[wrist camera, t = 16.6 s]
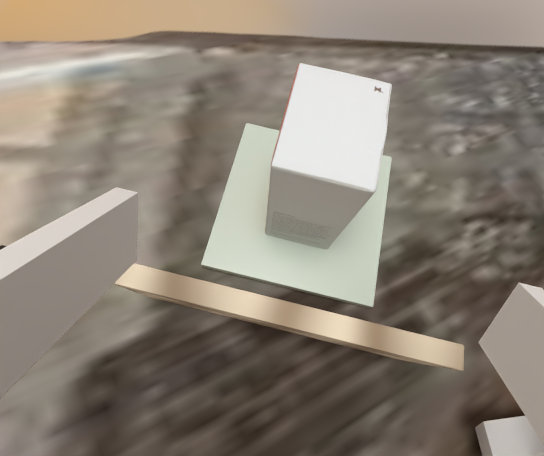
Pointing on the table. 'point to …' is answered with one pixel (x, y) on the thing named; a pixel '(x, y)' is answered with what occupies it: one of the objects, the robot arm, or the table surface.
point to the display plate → (285, 253)
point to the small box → (326, 154)
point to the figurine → (509, 438)
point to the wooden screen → (292, 317)
